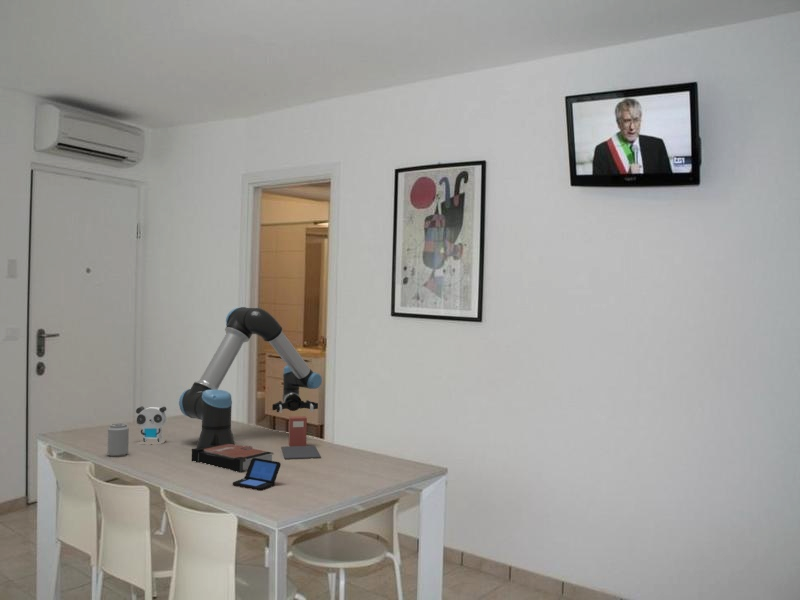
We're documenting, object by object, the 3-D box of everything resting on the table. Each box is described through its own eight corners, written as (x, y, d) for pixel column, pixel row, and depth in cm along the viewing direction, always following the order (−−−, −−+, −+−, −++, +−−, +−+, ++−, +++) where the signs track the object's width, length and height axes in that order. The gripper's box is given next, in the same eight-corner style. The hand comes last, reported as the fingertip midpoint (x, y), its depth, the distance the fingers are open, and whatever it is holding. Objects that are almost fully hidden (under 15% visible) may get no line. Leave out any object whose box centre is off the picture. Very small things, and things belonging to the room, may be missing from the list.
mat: (320, 458, 264) (321, 456, 264) (284, 459, 261) (284, 457, 261) (315, 446, 283) (315, 445, 283) (281, 448, 280) (281, 446, 280)
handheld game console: (230, 486, 224) (231, 463, 224) (251, 478, 234) (252, 457, 234) (260, 491, 218) (261, 468, 218) (281, 484, 228) (281, 462, 228)
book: (274, 464, 255) (274, 451, 255) (239, 473, 241) (239, 459, 241) (227, 454, 270) (227, 441, 270) (191, 462, 255) (191, 449, 255)
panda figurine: (132, 445, 280) (132, 409, 280) (141, 439, 291) (142, 404, 291) (161, 445, 280) (161, 409, 280) (169, 439, 292) (170, 405, 292)
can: (128, 452, 268) (129, 421, 268) (127, 456, 261) (128, 425, 260) (108, 453, 265) (108, 422, 265) (106, 457, 258) (107, 426, 258)
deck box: (306, 446, 284) (306, 418, 284) (289, 447, 282) (290, 418, 282) (305, 444, 288) (305, 416, 288) (288, 445, 286) (289, 416, 286)
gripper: (319, 408, 319) (325, 417, 298) (265, 410, 313) (267, 419, 292) (319, 392, 319) (325, 400, 298) (265, 394, 313) (267, 402, 292)
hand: (296, 409), depth 295 cm, fingers open, 13 cm apart
